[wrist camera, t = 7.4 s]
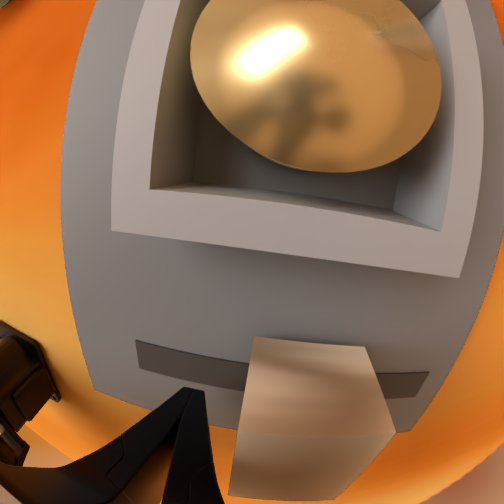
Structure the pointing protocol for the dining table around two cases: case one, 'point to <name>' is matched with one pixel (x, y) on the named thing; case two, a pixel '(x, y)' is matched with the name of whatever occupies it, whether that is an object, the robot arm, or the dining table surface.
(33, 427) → the dining table surface
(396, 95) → the button
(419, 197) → the panel
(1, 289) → the dining table surface
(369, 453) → the tan rectangular prism
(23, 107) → the dining table surface
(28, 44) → the dining table surface
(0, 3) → the cupcake
